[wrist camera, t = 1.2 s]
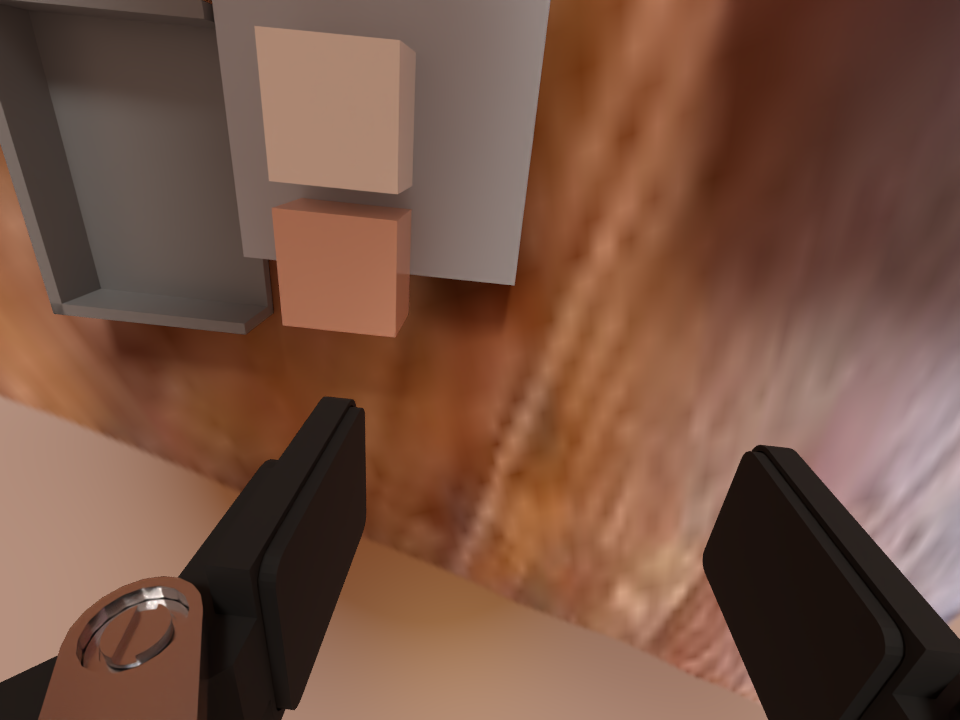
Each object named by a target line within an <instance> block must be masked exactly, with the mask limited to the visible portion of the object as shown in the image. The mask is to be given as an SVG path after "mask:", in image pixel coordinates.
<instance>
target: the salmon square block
mask: <svg viewBox="0 0 960 720" xmlns="http://www.w3.org/2000/svg"><path fill="white" fill-rule="evenodd" d="M411 213H412V209H403V208H394V207H384V206H375V205H365V204H355V203H346V202H336V201H326V200H317V199H307V198H300V199H297V200H294V201H291V202H288V203H285V204H282V205H279V206H276V207H273V208H272V218H273V229H274V239H275V250H276V261H277V271H278V282H279V292H280V303H281V313H282V324H283V325H284V326H293V327H302V328H312V329H321V330H330V331H339V332H349V333H358V334H367V335H376V336H386V337H396V336H397V334H398V332H399V330H400V328H401V327H402V325H403V323H404V321H405V320H406V318H407V316H408V314H409V285H410V249H411Z"/></svg>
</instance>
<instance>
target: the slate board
mask: <svg viewBox="0 0 960 720" xmlns="http://www.w3.org/2000/svg"><path fill="white" fill-rule="evenodd" d="M212 4H213V12H214V20H215V28H216V36H217V44H218V52H219V60H220V68H221V76H222V85H223V93H224V101H225V109H226V117H227V125H228V133H229V141H230V149H231V157H232V165H233V173H234V181H235V189H236V197H237V206H238V214H239V222H240V230H241V238H242V246H243V254H244V257H250V258H260V259H269V260H276V250H275V239H274V229H273V218H272V208H273V207H276V206H279V205H282V204H285V203H288V202H291V201H294V200H297V199H300V198H307V199H317V200H326V201H336V202H346V203H355V204H365V205H375V206H384V207H394V208H403V209H412V213H411V249H410V274H411V275H420V276H430V277H439V278H448V279H458V280H467V281H477V282H486V283H496V284H505V285H515V277H516V269H517V261H518V253H519V246H520V238H521V230H522V222H523V214H524V206H525V198H526V190H527V182H528V174H529V166H530V158H531V150H532V142H533V134H534V127H535V119H536V111H537V103H538V95H539V87H540V79H541V71H542V63H543V55H544V47H545V39H546V31H547V23H548V15H549V7H550V0H212ZM254 26H261V27H271V28H281V29H292V30H302V31H312V32H322V33H332V34H343V35H353V36H363V37H373V38H383V39H393V40H400V41H402V42H403V43H404V44H406V45H407V46H408V47H410V48H411V49H412V50H413V51H415V52H416V69H415V105H414V141H413V177H412V186H411V187H409V188H408V189H406V190H404V191H403V192H401V193H399V194H389V193H379V192H370V191H360V190H350V189H341V188H331V187H321V186H312V185H302V184H292V183H283V182H273V181H269V176H268V165H267V155H266V144H265V134H264V123H263V113H262V102H261V91H260V81H259V70H258V60H257V49H256V39H255V28H254Z"/></svg>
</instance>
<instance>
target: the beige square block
mask: <svg viewBox="0 0 960 720" xmlns="http://www.w3.org/2000/svg"><path fill="white" fill-rule="evenodd" d="M254 28H255V39H256V49H257V60H258V70H259V81H260V91H261V102H262V113H263V123H264V134H265V144H266V155H267V165H268V176H269V181H273V182H283V183H292V184H302V185H312V186H321V187H331V188H341V189H350V190H360V191H370V192H379V193H389V194H399V193H401V192H403V191H404V190H406V189H408V188H409V187H411V186H412V177H413V141H414V105H415V69H416V52H415V51H413V50H412V49H411V48H410V47H408V46H407V45H406V44H404V43H403V42H402V41H400V40H393V39H383V38H373V37H363V36H353V35H343V34H332V33H322V32H312V31H302V30H292V29H281V28H271V27H261V26H254Z"/></svg>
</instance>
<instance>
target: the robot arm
mask: <svg viewBox="0 0 960 720" xmlns="http://www.w3.org/2000/svg"><path fill="white" fill-rule="evenodd" d="M365 521H366V461H365V412H364V409H363V408H357V407H356V404H355V401H354V400H353V399H344V398H335V397H323V398H322V399H321V400H320V402H319V403H318V405H317V406H316V407H315V409H314V410H313V412H312V413H311V414H310V416H309V417H308V419H307V420H306V422H305V423H304V424H303V426H302V427H301V429H300V430H299V431H298V433H297V434H296V436H295V437H294V439H293V440H292V441H291V443H290V444H289V446H288V447H287V448H286V450H285V451H284V453H283V454H282V456H281V457H280V458H279V460H273V459H270V460H267V461H265V462H264V463H263V464H262V466H261V467H260V468H259V469H258V471H257V472H256V473H255V475H254V476H253V477H252V479H251V480H250V481H249V483H248V484H247V485H246V487H245V488H244V489H243V491H242V492H241V493H240V495H239V496H238V497H237V499H236V500H235V501H234V503H233V504H232V506H231V507H230V508H229V510H228V511H227V512H226V514H225V515H224V516H223V518H222V519H221V520H220V522H219V523H218V524H217V526H216V527H215V529H214V530H213V531H212V532H211V534H210V535H209V536H208V538H207V539H206V540H205V542H204V543H203V545H202V546H201V547H200V549H199V550H198V551H197V552H196V554H195V555H194V556H193V558H192V559H191V561H190V562H189V563H188V565H187V566H186V567H185V569H184V570H183V571H182V573H181V574H180V575H179V577H178V578H175V577H166V576H161V577H154V578H147V579H142V580H139V581H136V582H133V583H131V584H128V585H125V586H122V587H121V588H119V589H117V590H115V591H113V592H111V593H110V594H108V595H106V596H104V597H102V598H101V599H100V600H99V601H97V602H96V603H95V604H93V605H92V606H91V607H90V608H88V609H87V610H86V611H85V612H84V613H83V614H82V615H81V616H80V617H79V618H78V620H77V621H76V622H75V623H74V624H73V625H72V627H71V628H70V629H69V631H68V633H67V635H66V637H65V639H64V641H63V643H62V645H61V647H60V650H59V654H58V656H56V657H54V658H51V659H49V660H47V661H45V662H43V663H41V664H39V665H37V666H35V667H32V668H30V669H28V670H26V671H24V672H22V673H20V674H18V675H16V676H13V677H11V678H9V679H7V680H5V681H3V682H1V683H0V720H281V719H282V717H283V714H284V711H285V709H290V710H295V709H296V708H297V706H298V704H299V702H300V700H301V697H302V695H303V692H304V690H305V686H306V684H307V681H308V679H309V676H310V673H311V671H312V668H313V665H314V662H315V660H316V657H317V654H318V652H319V649H320V646H321V644H322V641H323V638H324V635H325V633H326V630H327V628H328V625H329V622H330V619H331V617H332V614H333V611H334V609H335V606H336V603H337V601H338V598H339V595H340V592H341V589H342V587H343V584H344V582H345V579H346V576H347V574H348V571H349V568H350V566H351V563H352V560H353V557H354V555H355V552H356V549H357V547H358V544H359V541H360V539H361V536H362V533H363V530H364V526H365ZM703 568H704V571H705V574H706V576H707V579H708V581H709V583H710V586H711V588H712V590H713V593H714V595H715V597H716V600H717V602H718V604H719V606H720V609H721V611H722V613H723V616H724V618H725V620H726V623H727V625H728V627H729V630H730V632H731V634H732V637H733V639H734V641H735V644H736V646H737V648H738V651H739V653H740V655H741V658H742V660H743V662H744V665H745V667H746V669H747V671H748V674H749V676H750V678H751V681H752V683H753V685H754V688H755V690H756V692H757V695H758V697H759V699H760V702H761V704H762V706H763V709H764V711H765V713H766V715H767V718H768V720H960V639H959V638H958V637H957V636H956V634H955V633H954V632H953V631H952V630H951V629H950V628H949V626H948V625H947V624H946V623H945V622H944V621H943V620H942V618H941V617H940V616H939V615H938V614H937V613H936V612H935V610H934V609H933V608H932V607H931V606H930V605H929V603H928V602H927V601H926V600H925V599H924V598H923V597H922V595H921V594H920V593H919V592H918V591H917V590H916V589H915V587H914V586H913V585H912V584H911V583H910V582H909V581H908V579H907V578H906V577H905V576H904V575H903V574H902V573H901V571H900V570H899V569H898V568H897V567H896V566H895V565H894V563H893V562H892V561H891V560H890V559H889V558H888V556H887V555H886V554H885V553H884V552H883V551H882V550H881V548H880V547H879V546H878V545H877V544H876V543H875V542H874V540H873V539H872V538H871V537H870V536H869V535H868V534H867V532H866V531H865V530H864V529H863V528H862V527H861V526H860V524H859V523H858V522H857V521H856V520H855V519H854V518H853V516H852V515H851V514H850V513H849V512H848V511H847V510H846V508H845V507H844V506H843V505H842V504H841V503H840V501H839V500H838V499H837V498H836V497H835V496H834V495H833V493H832V492H831V491H830V490H829V489H828V488H827V487H826V485H825V484H824V483H823V482H822V481H821V480H820V479H819V477H818V476H817V475H816V474H815V473H814V472H813V471H812V469H811V468H810V467H809V466H808V465H807V464H806V463H805V461H804V460H803V459H802V458H801V457H800V456H799V454H798V453H797V452H796V451H794V450H793V449H790V448H784V447H775V446H766V445H758V446H756V447H755V448H754V449H753V450H752V452H751V451H748V452H746V453H745V454H744V455H743V457H742V459H741V461H740V464H739V466H738V469H737V471H736V473H735V476H734V478H733V481H732V483H731V486H730V488H729V491H728V493H727V496H726V498H725V501H724V503H723V505H722V508H721V510H720V513H719V515H718V518H717V520H716V523H715V525H714V528H713V530H712V533H711V535H710V538H709V540H708V542H707V545H706V547H705V550H704V553H703Z"/></svg>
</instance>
